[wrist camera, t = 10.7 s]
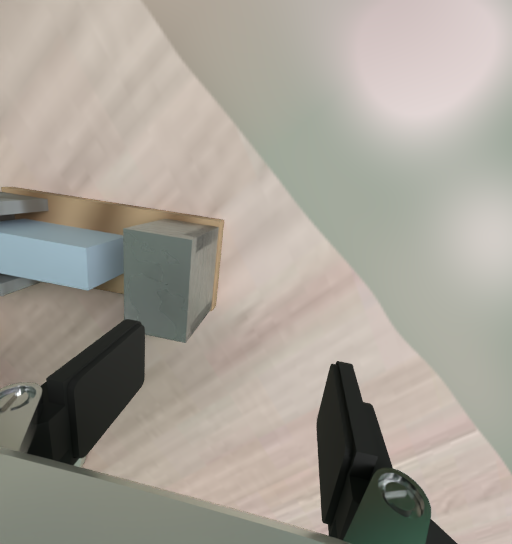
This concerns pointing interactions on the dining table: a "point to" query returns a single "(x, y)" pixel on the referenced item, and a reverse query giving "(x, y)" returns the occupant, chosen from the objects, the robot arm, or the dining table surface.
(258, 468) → the dining table surface
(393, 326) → the dining table surface
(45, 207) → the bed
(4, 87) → the dining table surface
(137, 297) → the grey concrete block
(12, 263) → the light blue block
